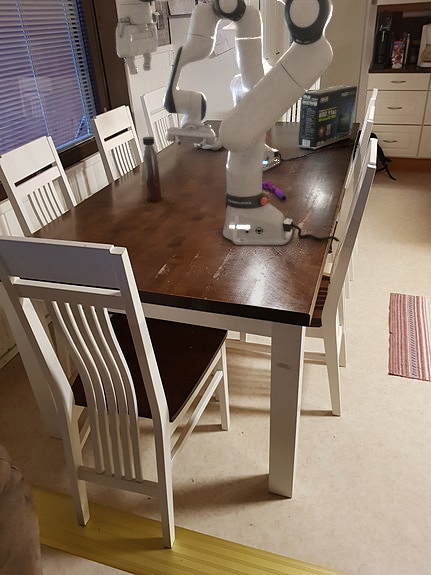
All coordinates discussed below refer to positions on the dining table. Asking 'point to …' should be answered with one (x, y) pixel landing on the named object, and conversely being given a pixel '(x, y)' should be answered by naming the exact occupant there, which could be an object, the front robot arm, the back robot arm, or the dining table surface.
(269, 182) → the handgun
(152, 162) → the bottle
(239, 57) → the back robot arm
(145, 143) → the cap
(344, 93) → the router box
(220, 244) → the dining table surface
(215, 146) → the fossil
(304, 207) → the dining table surface
